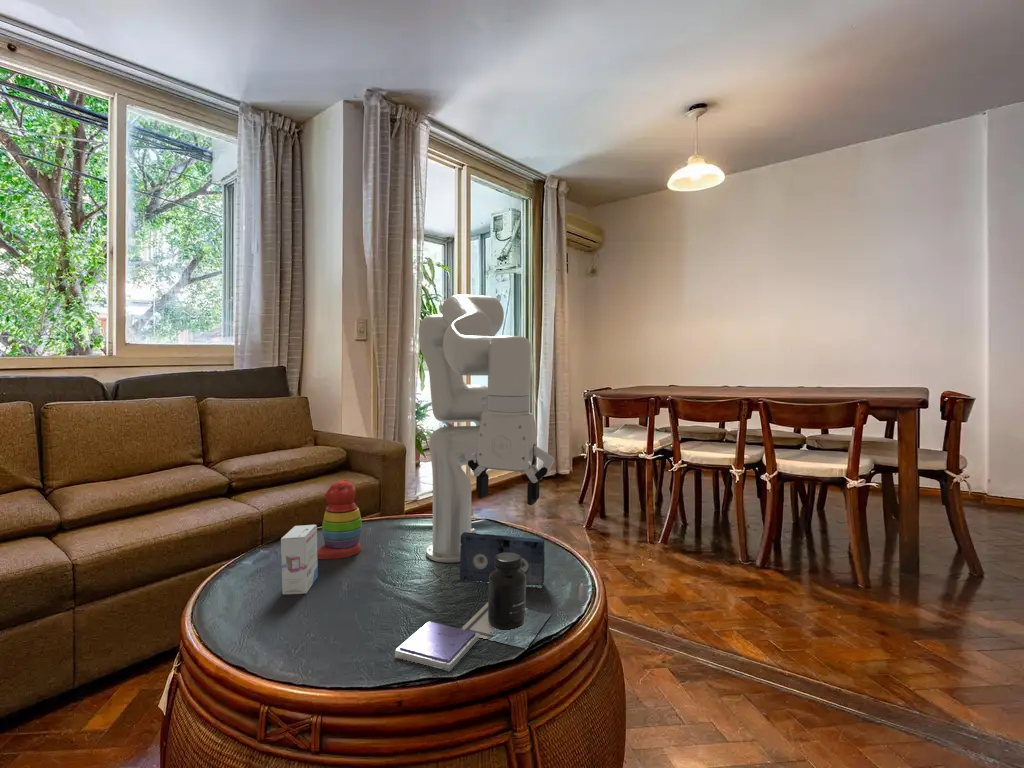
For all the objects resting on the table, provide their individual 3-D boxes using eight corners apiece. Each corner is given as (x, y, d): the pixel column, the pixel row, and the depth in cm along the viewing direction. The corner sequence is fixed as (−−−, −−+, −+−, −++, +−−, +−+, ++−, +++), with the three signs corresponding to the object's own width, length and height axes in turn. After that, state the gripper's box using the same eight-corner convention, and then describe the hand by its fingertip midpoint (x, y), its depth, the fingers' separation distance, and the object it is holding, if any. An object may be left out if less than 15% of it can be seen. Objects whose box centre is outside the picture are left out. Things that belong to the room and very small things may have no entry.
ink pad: (428, 628, 90) (428, 619, 90) (479, 640, 86) (479, 631, 86) (394, 657, 81) (394, 648, 81) (449, 672, 77) (449, 662, 77)
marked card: (489, 601, 100) (489, 600, 100) (551, 614, 95) (551, 613, 95) (457, 633, 89) (457, 631, 88) (526, 650, 83) (526, 648, 83)
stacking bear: (329, 543, 132) (329, 475, 132) (367, 544, 132) (367, 476, 131) (311, 559, 122) (311, 485, 121) (353, 560, 121) (353, 486, 121)
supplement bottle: (521, 634, 88) (522, 565, 88) (483, 629, 89) (484, 562, 89) (528, 615, 95) (529, 551, 94) (493, 611, 96) (493, 548, 96)
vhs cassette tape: (544, 584, 109) (545, 538, 109) (542, 590, 106) (542, 543, 106) (463, 575, 114) (464, 531, 113) (459, 580, 111) (459, 535, 110)
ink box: (295, 577, 111) (294, 524, 111) (318, 577, 111) (318, 523, 111) (280, 595, 103) (280, 537, 102) (306, 594, 103) (306, 536, 103)
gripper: (455, 404, 91) (454, 499, 91) (547, 409, 84) (545, 511, 85) (474, 401, 98) (473, 489, 98) (561, 406, 91) (559, 500, 92)
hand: (507, 499), depth 92 cm, fingers open, 9 cm apart
